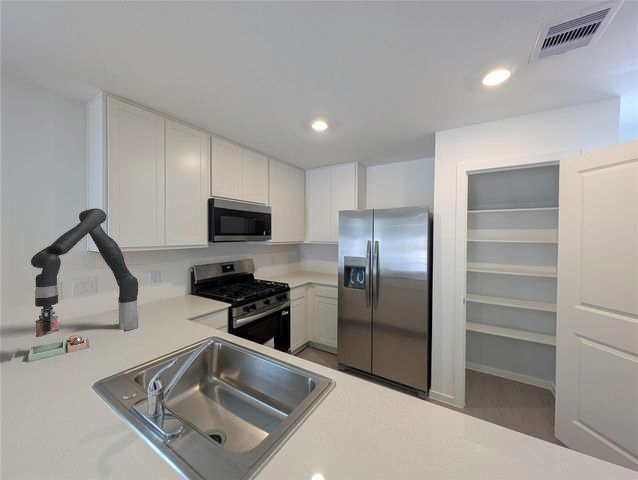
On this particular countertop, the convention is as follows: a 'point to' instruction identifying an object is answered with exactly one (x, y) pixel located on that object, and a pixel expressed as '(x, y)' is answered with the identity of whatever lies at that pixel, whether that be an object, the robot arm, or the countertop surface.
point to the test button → (72, 338)
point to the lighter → (40, 326)
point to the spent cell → (76, 340)
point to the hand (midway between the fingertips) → (47, 329)
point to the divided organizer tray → (55, 349)
